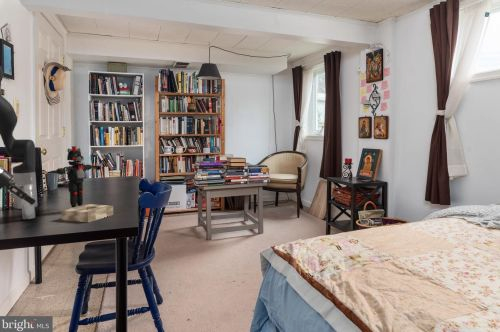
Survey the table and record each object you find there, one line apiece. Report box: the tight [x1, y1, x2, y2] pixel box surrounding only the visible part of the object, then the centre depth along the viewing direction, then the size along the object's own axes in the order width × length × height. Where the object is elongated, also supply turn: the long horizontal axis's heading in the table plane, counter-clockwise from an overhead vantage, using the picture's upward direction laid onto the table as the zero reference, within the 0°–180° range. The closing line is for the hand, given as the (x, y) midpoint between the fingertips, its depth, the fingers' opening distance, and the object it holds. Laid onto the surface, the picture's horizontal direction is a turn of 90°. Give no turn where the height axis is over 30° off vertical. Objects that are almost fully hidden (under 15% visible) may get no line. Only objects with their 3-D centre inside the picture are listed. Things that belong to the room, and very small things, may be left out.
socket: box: [61, 203, 114, 223], centre depth 145 cm, size 14×14×4 cm
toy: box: [46, 145, 102, 208], centre depth 156 cm, size 30×8×30 cm, turn 168°
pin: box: [20, 184, 36, 220], centre depth 142 cm, size 4×4×14 cm
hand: (33, 201), depth 143 cm, fingers closed on pin, 4 cm apart
